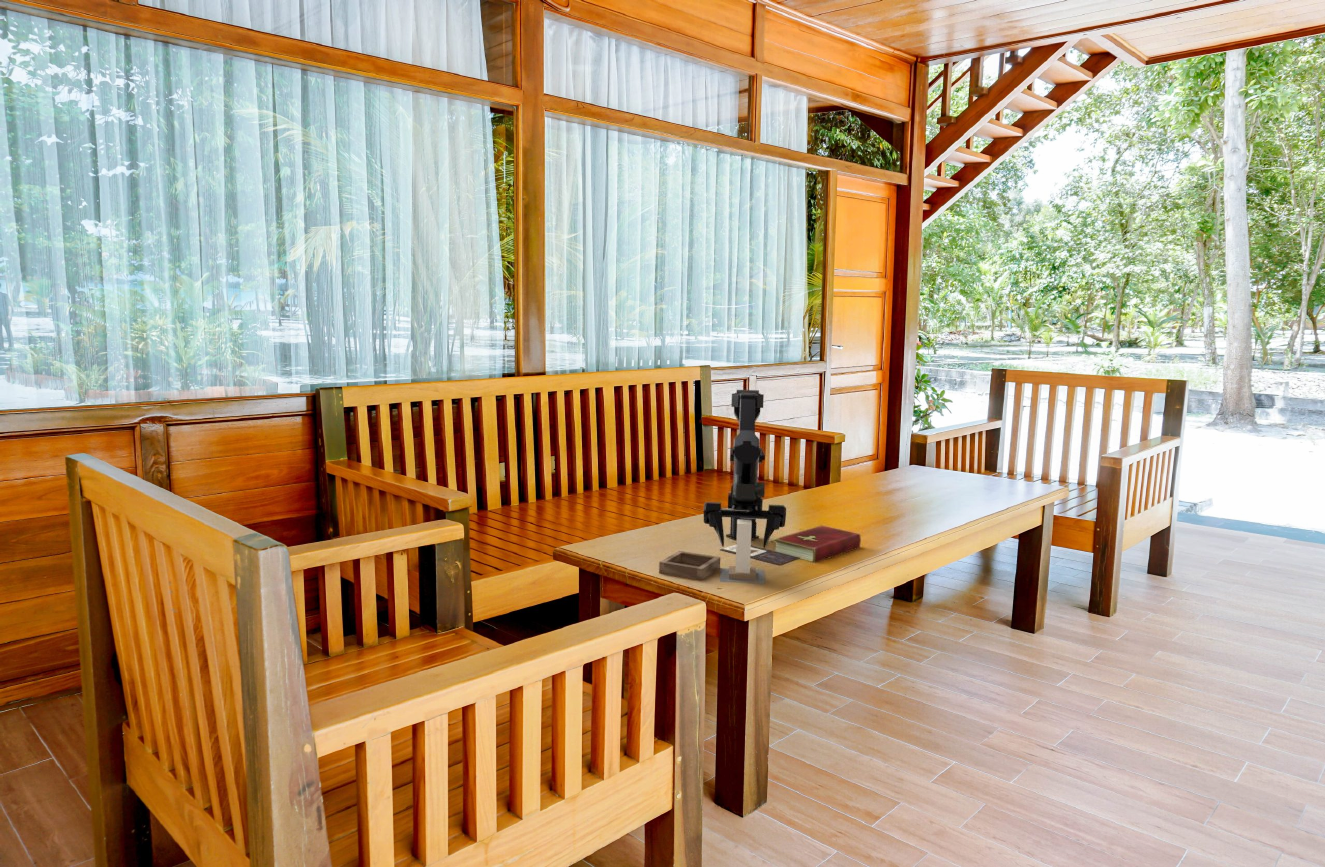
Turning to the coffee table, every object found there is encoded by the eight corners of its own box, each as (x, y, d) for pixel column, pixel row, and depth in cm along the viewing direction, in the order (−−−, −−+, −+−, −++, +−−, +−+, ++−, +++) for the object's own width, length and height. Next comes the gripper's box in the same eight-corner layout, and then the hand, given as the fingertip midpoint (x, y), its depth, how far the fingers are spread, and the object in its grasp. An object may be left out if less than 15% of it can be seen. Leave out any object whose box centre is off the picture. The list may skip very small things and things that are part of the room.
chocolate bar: (779, 564, 208) (719, 549, 220) (779, 568, 209) (719, 553, 220) (800, 557, 215) (741, 542, 227) (800, 561, 215) (741, 546, 227)
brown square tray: (678, 562, 210) (679, 550, 210) (720, 568, 206) (720, 557, 205) (659, 573, 201) (659, 561, 200) (701, 581, 196) (702, 569, 196)
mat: (720, 569, 205) (720, 567, 205) (764, 571, 205) (764, 569, 205) (719, 582, 196) (719, 581, 196) (765, 584, 195) (765, 583, 195)
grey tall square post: (729, 570, 203) (731, 517, 201) (755, 572, 203) (757, 519, 201) (728, 578, 197) (730, 524, 196) (755, 580, 197) (758, 525, 195)
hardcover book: (860, 548, 227) (861, 532, 226) (814, 564, 212) (814, 547, 211) (820, 539, 235) (821, 524, 234) (773, 554, 220) (774, 537, 219)
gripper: (705, 467, 202) (701, 526, 192) (787, 470, 200) (787, 530, 191) (705, 494, 211) (702, 551, 201) (784, 497, 209) (784, 555, 200)
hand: (743, 546), depth 198 cm, fingers open, 9 cm apart
